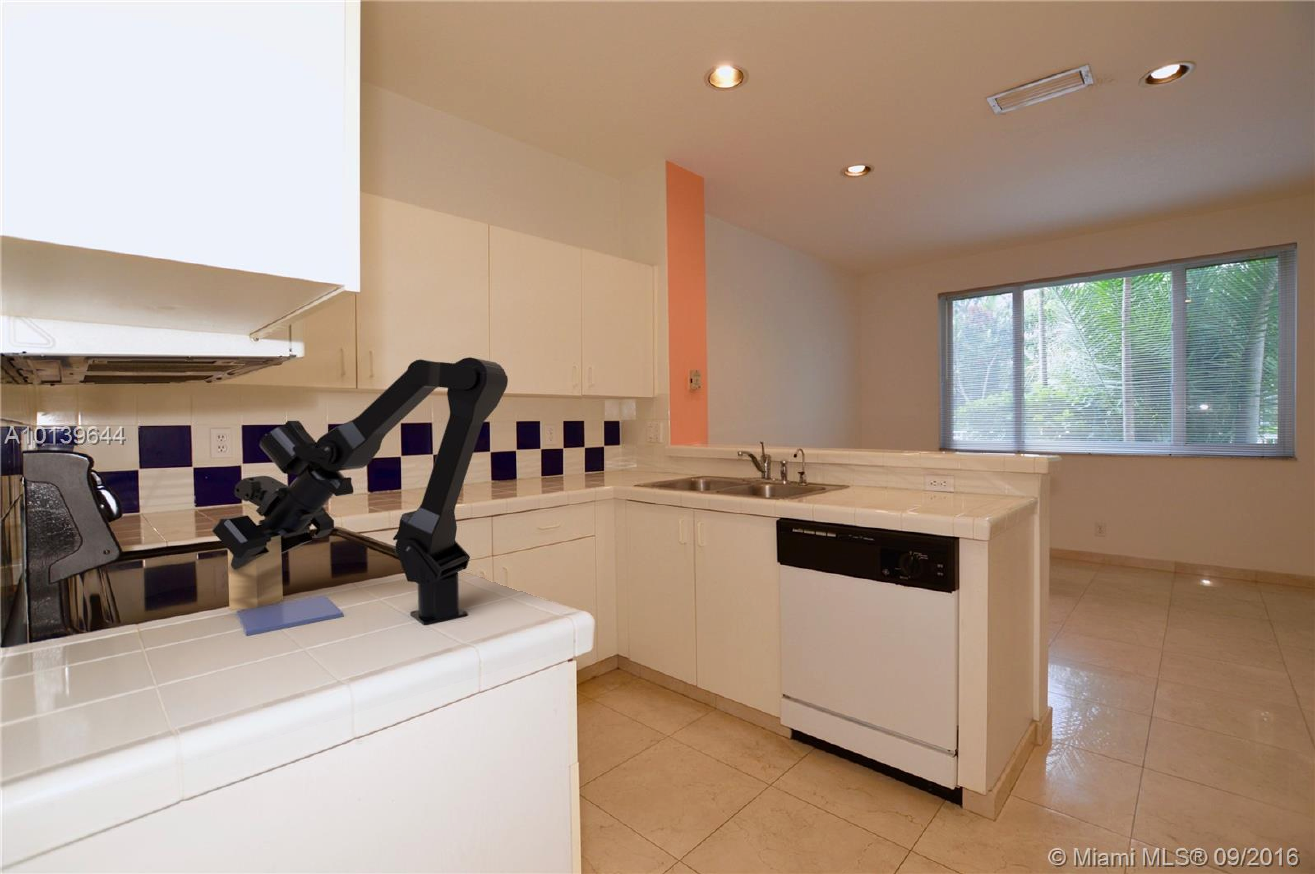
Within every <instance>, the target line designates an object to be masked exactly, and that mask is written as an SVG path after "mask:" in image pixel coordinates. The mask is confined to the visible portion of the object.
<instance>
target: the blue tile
mask: <svg viewBox="0 0 1315 874" xmlns="http://www.w3.org/2000/svg"><path fill="white" fill-rule="evenodd" d="M236 616H237V618H238V620H239V624H240V625H241V628H242V630H243V633H244V634H245V636H252V635H256V634H262V633H267V632H272V631H277V630H283V629H287V628H293V627H297V626H302V625H306V624H307V625H308V624H313V623H317V622H323V621H328V620H333V619H337V618H343V617H344V611H343V610H341V609H340V608H339V607H338V606H337V605H336V604H335V603H334V602H333V601H332V600H331V599H330V598H329V597H328V596H327V595H324V594H323V595H320V596H313V597H308V598H301V599H297V600H291V601H285V602H278V603H275V604H272V605H267V606H261V607H255V608H249V609H244V610H242V609H237V610H236Z"/></svg>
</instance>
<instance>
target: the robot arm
mask: <svg viewBox="0 0 1315 874" xmlns="http://www.w3.org/2000/svg"><path fill="white" fill-rule="evenodd" d="M508 378H509V377H508V375H507V373H506V371H505V369H504V368H503V366H501V364H499V363H498V362H495V361H491V360H485V359H481V358H475V357H470V356H469V357H464V358H461V359H459V360H458V361H456V362H454V363H453V362H444V361H433V360H427V359H421V358H420V359H416V360H414V361H412V362H411V363H410V364H409V365H408V367H407V370H405V371H404V372H403V373H402V374H401V375H400V376H399V377H398V378H397V379H396V380H395V381H393V383H392V384H390V386H389V387H387V389H385V390H384V391H383V392H382V393H381V394H380V395H379V396H377V398H375V400H373V402H371V404H369V405H368V406H367V407H366V408H365V409H364V410H363V411H362V412H361V413H360V414H359V415H357V416H356V417H355V418H353V419H352V420H349V421H347V422H345V423H342V424H340V425H337V426H336V427H334V428H332V429H331V430H329V431H328V432H326V433H324V434H323V435H321V436H320V437H319V438H318V439H317V440H315V439H314V438H313V437H312V436H311V434H310V433H309V432H308V431H307V430H306V429H305V427H304V425H303V424H302V422H300V420H287V421H286V422H285V424H284V425H281V426H277V427H276V428H274V429H272V430H271V431H269V432H268V433H265V434H264V435H263V436H262V438H261V439H260V441H259V447H260V449H261V450H262V451H263V452H264V454H266V455H267V456H268V458H269V459H270V460H271V461H272V462H273V463H274V464H275V466H276V467H277V468H278V469H279V470H280V471H281V473H282V474H284V475H286V474H287V475H292V474H293V475H296V476H297V477H296V478H295V479H294V480H293V481H292V482H291V483H290V484H289V485H287V484H285V483H283V482H281V481H280V480H277V479H275V478H274V477H272V476H270V475H269V476H268V475H257V476H251V477H250V476H249V477H244V478H242V479H240V481H239V482H238V483H236V484H235V486H234V491H233V493H234V496H235V497H237V498H238V499H240V500H242V501H244V502H249V503H252V504H253V505H255V506H257V509H256V510H255V512H256V513H257V514H258V515H259V516H260V517H264V518H263V519H260V520H258V521H257V523H258V524H256V523H255V521H253V519H252V518H251V517H250V516H249V515H248V514H244V515H243V514H241V515H240V514H239V515H235V516H230V517H229V516H227V517H222V518H220V519H219V520H218V521H217V522H216V524H215V525H214V526H213V528H212V532H213V534H214V535H215V536H216V537H217V538H218V539H219V541H220V542H221V543H222V544H223V545H224V546H225V547H226V548H227V551H228V550H229V551H230V552H231V553H232V554H233V558H232V562H231V567H232V568H233V569H234V570H236V569H239V568H240V567H242V566H244V565H246V564H248V563H250V562H252V561H254V560H255V559H257V558H259V557H261V556H263V555H265V554H267V553H268V552H269V550H268V549H267V548H266V547H265V546H266V545H267V543H269V542H270V541H271V538H275V537H279V536H281V555H282V554H284V553H286V552H288V551H291V550H293V549H296V548H298V547H300V546H302V545H305V544H306V543H309V542H310V543H311V542H312V541H313V539H314V538H313V536H312V535H311V534H310V533H309V532H310V531H311V527H312V526H313V527H315V529H316V530H315V532H314V533H313V535H314V536H315V538H317V539H320V538H322V537H323V538H324V537H326V536H329V534H330V533H331V532H332V531H333V530H334V529H335V520H334V519H333V517H332V516H331V515H329V513H328V512H327V511H326V509H325V508H324V506H325V505H326V504H327V502H329V500H330V499H331V498H332V497H333V496H335V497H341V496H347V495H352V494H354V486H353V483H352V477H350V476H347V477H345V476H344V475H343V473H342V471H349V470H358V469H359V470H360V469H363V468H365V467H366V466H368V465H369V464H370V463H371V462H372V460H373V459H374V457H376V455H377V453H378V452H379V451H380V449H381V446H382V442H383V440H384V438H385V437H386V436H387V434H388V433H390V432H391V431H392V429H394V428H395V427H396V426H397V425H398V424H399V423H400V422H401V421H402V420H403V419H405V418H406V417H407V416H408V415H409V413H411V412H412V411H413V410H414V409H416V408H417V406H418V405H420V404H421V403H422V402H423V401H424V400H425V399H426V398H427V397H428V396H430V394H432V393H433V392H434V391H435V390H436V389H437V388H442V389H447V390H446V396H447V402H448V408H449V409H448V410H449V416H448V420H447V423H446V427H445V429H444V432H443V435H442V439H441V440H440V441H441V442H440V445H439V448H438V451H437V454H436V457H435V460H434V464H433V466H432V470H431V473H430V477H429V480H428V482H427V486H426V488H425V492H424V495H423V498H422V500H421V501H422V502H421V504H420V505H419V507H418V508H417V509H416V510H413V511H409V512H405V513H404V512H403V513H402V514H401V517H400V519H399V522H398V523H399V524H398V530H397V532H396V533H395V535H394V536H393V537H392V540H393V541H396V542H395V546H394V553H395V555H397V556H396V557H397V558H398V560H399V561H400V564H401V567H402V570H403V573H404V575H405V577H406V581H407V582H409V583H416V584H417V599H418V600H417V604H418V606H417V607H418V609H416V610H412V611H410V616H411V617H413V619H415V620H416V621H418V622H419V623H421V625H423V626H428V625H432V624H433V625H434V624H437V623H442V622H447V621H449V620H454V619H455V620H456V619H459V618H464V617H467V616H468V615H469V612H468V611H466V610H465V609H463V608H461V607H460V597H459V596H460V595H459V594H460V592H459V591H460V589H459V586H460V584H459V572H461V571H463V570H467V568H468V565H469V562H470V558H471V556H470V555H469V553H468V552H466V550H465V549H464V548H463V547H462V546H461V545H460V544H459V543H458V542H457V541H456V536H457V529H458V526H457V520H456V515H455V510H456V506H457V503H458V500H459V497H460V494H461V490H462V488H463V485H464V481H465V479H466V476H467V473H468V471H469V466H470V463H471V460H472V457H473V454H474V451H475V448H476V445H477V442H478V439H479V436H480V432H481V430H482V427H483V424H484V422H485V421H486V420H487V419H488V417H489V416H490V415H491V414H492V413H493V412H494V410H495V409H496V408H497V407H498V406H499V403H500V401H501V399H502V397H503V395H504V394H505V391H506V390H507V387H508V381H509V379H508Z"/></svg>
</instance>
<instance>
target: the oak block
mask: <svg viewBox="0 0 1315 874" xmlns="http://www.w3.org/2000/svg"><path fill="white" fill-rule="evenodd" d="M265 547H266V548H267V549H268V550H269V552H268V553H267V554H265V555H263V556H261V557H259V558H257V559H255V560H254V561H252V562H250V563H248V564H246V565H244V566H242V567H240V568H239V569H236V570H234V569H233V568H232V567H231V562H232V558H233V554H232V553H231V552H230V551H229V550H228V549H227V565H228V566H227V567H228V568H227V569H228V570H227V571H228V574H227V575H228V600H229V601H228V603H229V609H230V610H244V609H249V608H255V607H261V606H267V605H272V604H278V603H282V602H283V600H284V599H283V597H284V596H283V595H284V594H283V568H282V567H283V566H282V565H283V561H282V554H281V536H279V537H275V538H271V541H270V542H269V543H267V545H266V546H265Z"/></svg>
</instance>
